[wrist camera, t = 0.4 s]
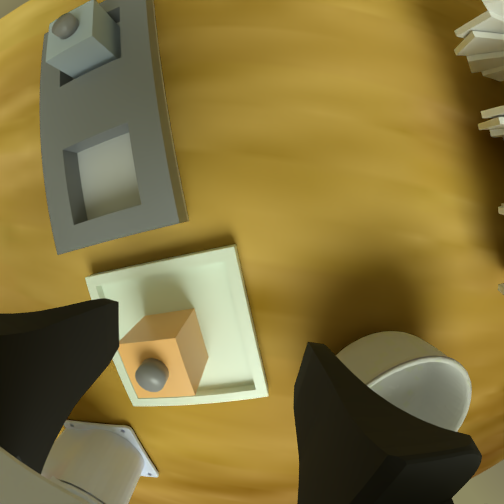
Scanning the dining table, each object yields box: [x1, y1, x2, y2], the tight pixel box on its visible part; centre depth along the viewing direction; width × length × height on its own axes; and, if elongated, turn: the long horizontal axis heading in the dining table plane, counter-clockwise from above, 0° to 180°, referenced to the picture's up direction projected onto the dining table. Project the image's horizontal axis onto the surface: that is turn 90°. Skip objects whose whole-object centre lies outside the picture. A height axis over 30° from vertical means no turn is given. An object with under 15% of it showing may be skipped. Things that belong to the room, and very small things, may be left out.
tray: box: [85, 244, 268, 406], centre depth 21 cm, size 12×12×1 cm
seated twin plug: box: [46, 0, 121, 79], centre depth 15 cm, size 4×4×6 cm
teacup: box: [336, 331, 472, 432], centre depth 18 cm, size 14×11×8 cm
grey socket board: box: [40, 0, 189, 255], centre depth 18 cm, size 10×20×2 cm, turn 12°
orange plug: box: [118, 308, 209, 398], centre depth 18 cm, size 4×4×6 cm
